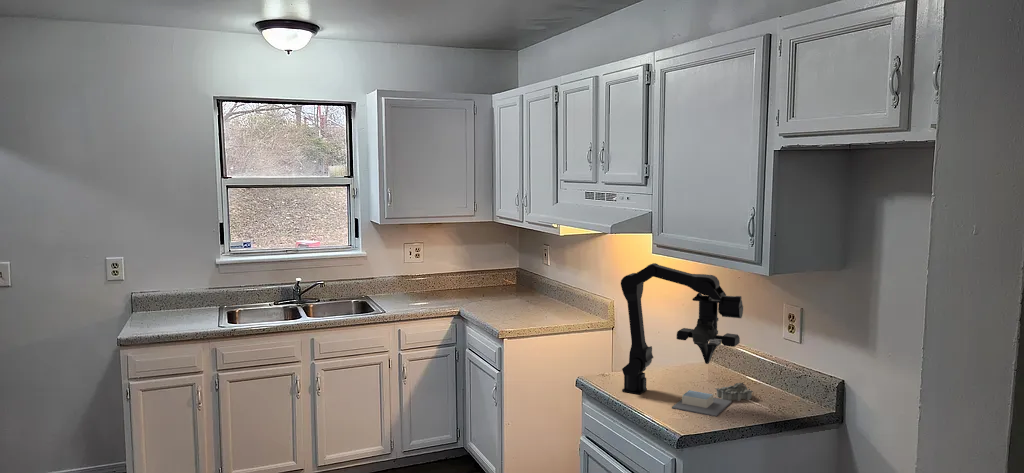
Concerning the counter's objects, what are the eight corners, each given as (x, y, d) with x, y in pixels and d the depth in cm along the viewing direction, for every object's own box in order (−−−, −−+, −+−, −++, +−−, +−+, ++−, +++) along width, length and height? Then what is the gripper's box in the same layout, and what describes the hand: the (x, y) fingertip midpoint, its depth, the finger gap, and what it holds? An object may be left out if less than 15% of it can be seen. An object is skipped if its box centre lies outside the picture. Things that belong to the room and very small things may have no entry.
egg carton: (744, 393, 236) (744, 381, 235) (754, 401, 228) (755, 388, 228) (713, 395, 234) (713, 383, 234) (723, 402, 227) (723, 390, 226)
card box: (706, 408, 220) (682, 403, 224) (713, 402, 225) (688, 398, 229) (707, 399, 219) (682, 394, 224) (713, 394, 224) (688, 390, 229)
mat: (671, 408, 221) (671, 407, 221) (689, 394, 234) (689, 393, 234) (716, 416, 213) (716, 415, 213) (732, 401, 226) (732, 400, 226)
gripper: (670, 316, 223) (669, 365, 224) (729, 323, 212) (728, 374, 214) (683, 310, 232) (682, 357, 233) (740, 316, 222) (739, 365, 223)
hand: (707, 363), depth 226 cm, fingers closed
